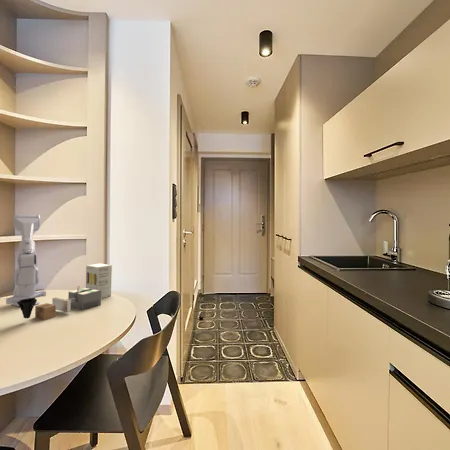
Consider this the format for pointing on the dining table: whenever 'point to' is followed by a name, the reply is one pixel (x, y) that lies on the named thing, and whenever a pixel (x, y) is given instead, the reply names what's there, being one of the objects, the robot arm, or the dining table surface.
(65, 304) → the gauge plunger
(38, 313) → the walnut block
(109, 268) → the supplement box
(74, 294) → the gauge housing
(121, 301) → the dining table surface
